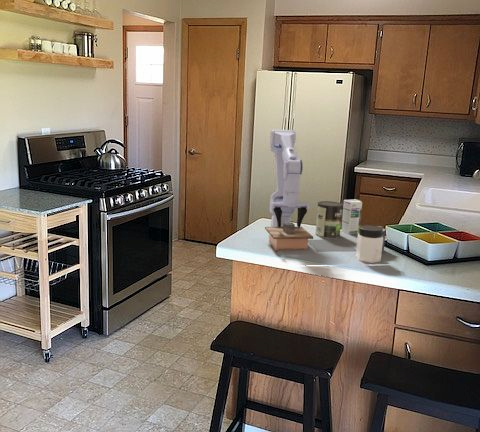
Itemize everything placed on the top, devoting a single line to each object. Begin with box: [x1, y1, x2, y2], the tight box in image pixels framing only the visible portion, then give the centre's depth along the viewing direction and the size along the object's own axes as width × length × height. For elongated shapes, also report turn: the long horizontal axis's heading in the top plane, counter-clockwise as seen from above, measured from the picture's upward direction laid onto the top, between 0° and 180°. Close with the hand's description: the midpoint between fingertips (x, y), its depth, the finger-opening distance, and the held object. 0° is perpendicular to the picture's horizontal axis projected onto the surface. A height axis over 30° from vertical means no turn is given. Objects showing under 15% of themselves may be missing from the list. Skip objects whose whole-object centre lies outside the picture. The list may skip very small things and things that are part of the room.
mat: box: [308, 239, 356, 253], centre depth 197 cm, size 16×16×1 cm
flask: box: [377, 225, 387, 253], centre depth 189 cm, size 9×3×11 cm, turn 138°
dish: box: [268, 233, 309, 252], centre depth 194 cm, size 12×12×5 cm
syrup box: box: [340, 199, 363, 235], centre depth 217 cm, size 6×6×14 cm
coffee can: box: [315, 200, 344, 239], centre depth 210 cm, size 10×10×14 cm
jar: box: [355, 224, 384, 264], centre depth 180 cm, size 9×8×12 cm
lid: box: [264, 221, 314, 240], centre depth 193 cm, size 15×15×4 cm
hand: (288, 226), depth 193 cm, fingers open, 7 cm apart
